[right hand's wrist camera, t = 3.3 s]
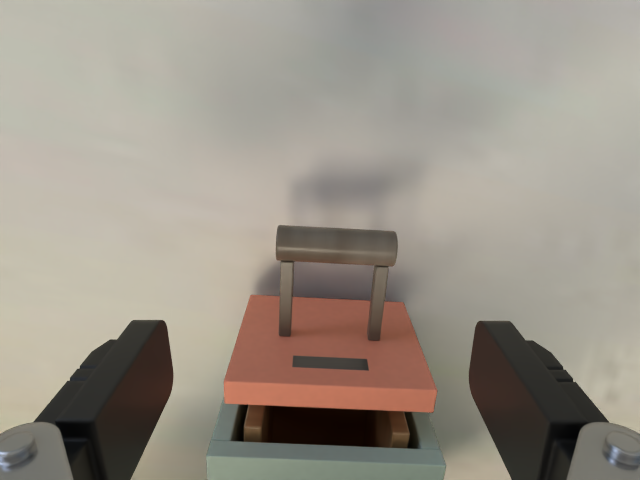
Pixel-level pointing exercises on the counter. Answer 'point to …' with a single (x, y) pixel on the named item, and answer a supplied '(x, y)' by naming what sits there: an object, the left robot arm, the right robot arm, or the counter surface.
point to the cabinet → (320, 455)
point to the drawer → (329, 352)
